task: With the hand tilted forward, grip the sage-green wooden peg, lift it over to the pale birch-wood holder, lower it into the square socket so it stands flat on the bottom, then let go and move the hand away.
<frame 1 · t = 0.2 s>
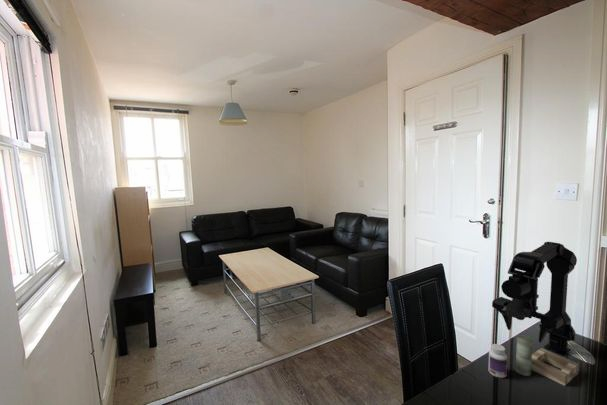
hand: (524, 335, 101), 15 cm above the table, tool pointing down, fingers open, 9 cm apart
peg: (523, 371, 104), on the table
pill bottle: (497, 373, 104), on the table
holder: (551, 370, 105), on the table
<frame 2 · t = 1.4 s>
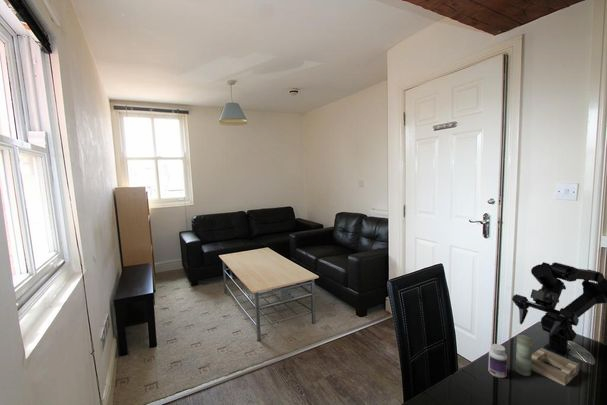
hand: (535, 329, 107), 13 cm above the table, tool tilted 45°, fingers open, 9 cm apart
nothing on the table moved.
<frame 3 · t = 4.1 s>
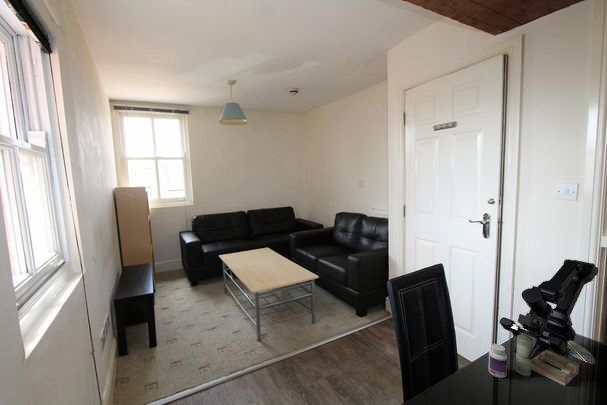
hand: (521, 355, 103), 7 cm above the table, tool tilted 45°, fingers closed on peg, 4 cm apart
peg: (523, 371, 104), on the table, touching gripper
everything else where it was.
when the fingers open (8 cm above the table, at t = 9.0 s): peg stays where it is, resting in holder.
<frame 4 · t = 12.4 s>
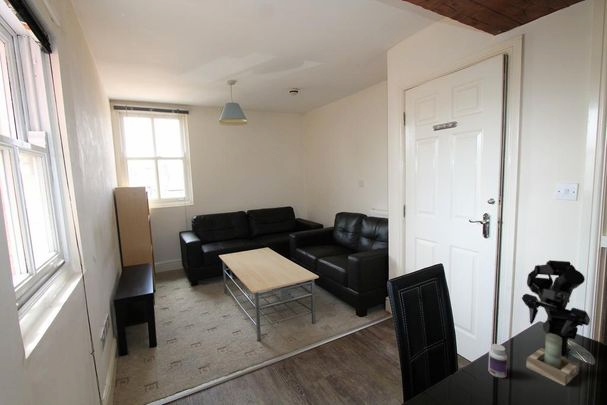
hand: (545, 328, 107), 14 cm above the table, tool tilted 45°, fingers open, 9 cm apart
peg: (551, 370, 105), resting in holder
everything else where it was.
at the end: peg 0.1 cm off-centre on the holder, point 0.0 cm above the holder's base; peg tilted 0°; the gripper is holding nothing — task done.
